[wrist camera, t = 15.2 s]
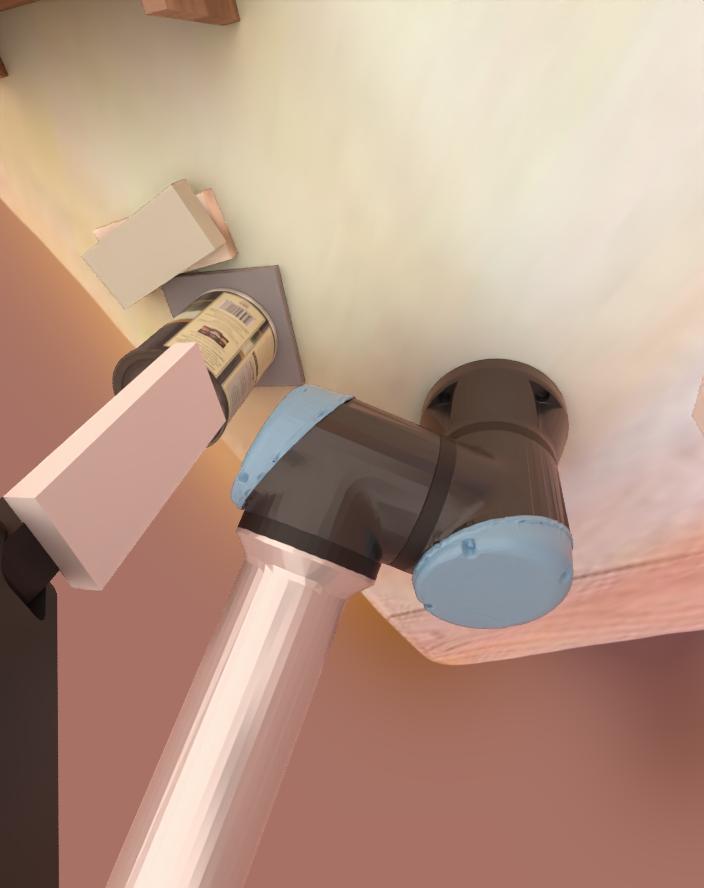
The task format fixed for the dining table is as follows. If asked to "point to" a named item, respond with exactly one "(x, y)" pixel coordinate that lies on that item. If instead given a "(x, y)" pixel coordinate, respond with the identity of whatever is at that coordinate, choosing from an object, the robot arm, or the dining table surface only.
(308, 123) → the dining table surface
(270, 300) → the slate mat
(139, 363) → the coffee can
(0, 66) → the walnut rack
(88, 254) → the upper offcut
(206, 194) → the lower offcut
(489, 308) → the dining table surface
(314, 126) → the dining table surface
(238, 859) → the robot arm
